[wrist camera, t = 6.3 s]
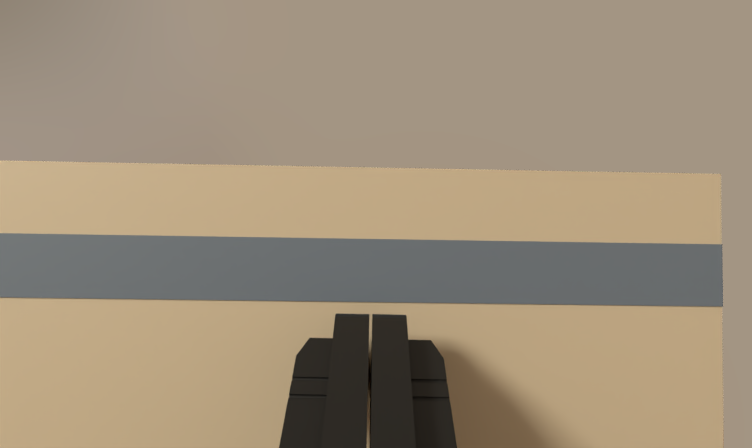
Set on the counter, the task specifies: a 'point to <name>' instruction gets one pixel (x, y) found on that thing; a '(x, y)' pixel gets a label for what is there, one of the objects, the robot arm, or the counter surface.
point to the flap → (357, 299)
